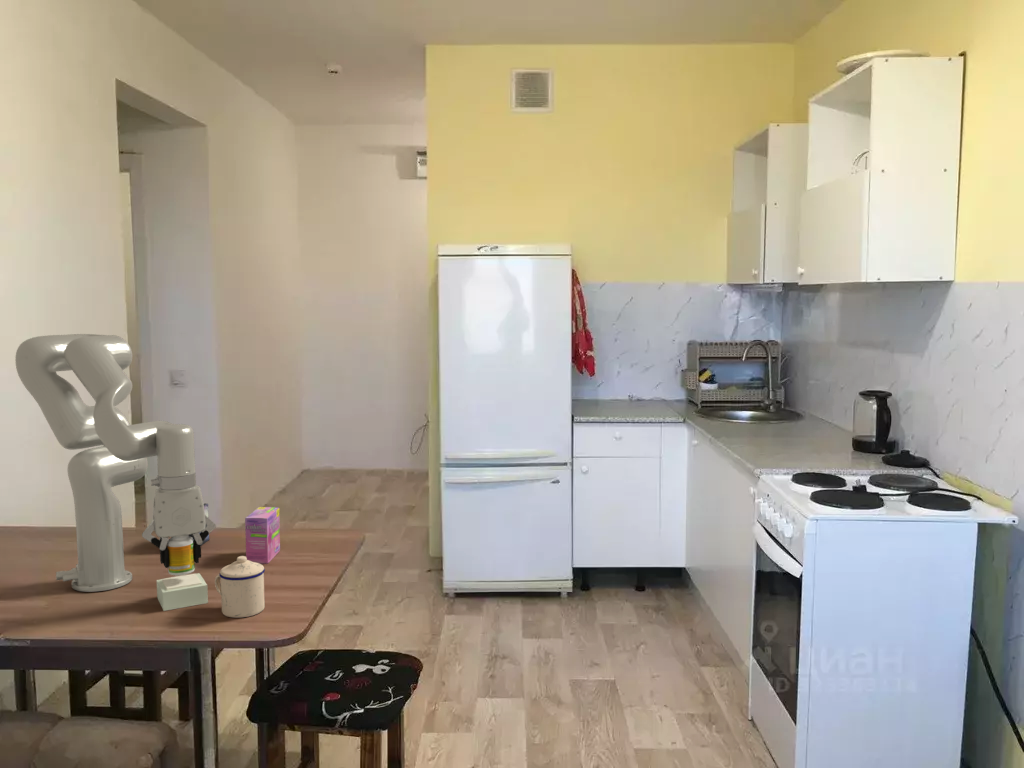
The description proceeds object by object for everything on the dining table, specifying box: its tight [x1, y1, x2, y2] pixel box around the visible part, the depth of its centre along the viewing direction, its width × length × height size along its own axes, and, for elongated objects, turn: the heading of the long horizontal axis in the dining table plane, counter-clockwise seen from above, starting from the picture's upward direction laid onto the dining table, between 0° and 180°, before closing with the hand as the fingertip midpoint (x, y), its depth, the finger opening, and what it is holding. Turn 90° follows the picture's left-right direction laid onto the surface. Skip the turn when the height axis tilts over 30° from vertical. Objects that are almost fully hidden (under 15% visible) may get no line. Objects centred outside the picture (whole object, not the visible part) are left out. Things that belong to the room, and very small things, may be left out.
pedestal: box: [156, 572, 209, 612], centre depth 181 cm, size 9×9×4 cm
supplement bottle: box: [166, 535, 196, 577], centre depth 180 cm, size 5×5×10 cm
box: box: [244, 506, 281, 565], centre depth 210 cm, size 10×6×12 cm, turn 179°
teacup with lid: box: [214, 555, 266, 619], centre depth 176 cm, size 12×9×12 cm
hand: (181, 562), depth 180 cm, fingers closed on supplement bottle, 5 cm apart
